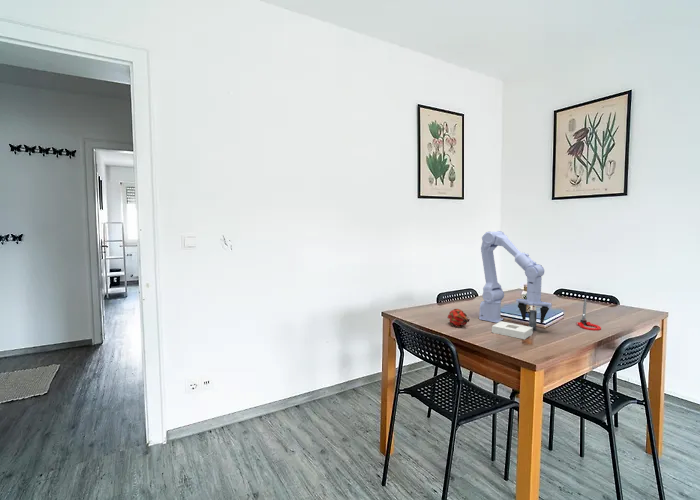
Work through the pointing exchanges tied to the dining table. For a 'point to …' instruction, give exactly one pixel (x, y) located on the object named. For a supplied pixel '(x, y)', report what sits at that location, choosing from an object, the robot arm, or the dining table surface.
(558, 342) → the dining table surface
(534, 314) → the peg
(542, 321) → the robot arm
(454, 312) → the dragon fruit
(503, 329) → the hole block
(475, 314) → the dining table surface
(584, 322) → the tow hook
